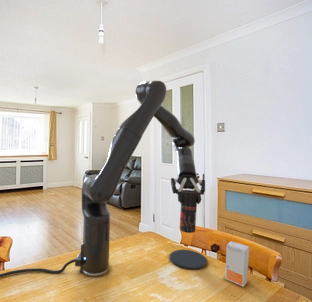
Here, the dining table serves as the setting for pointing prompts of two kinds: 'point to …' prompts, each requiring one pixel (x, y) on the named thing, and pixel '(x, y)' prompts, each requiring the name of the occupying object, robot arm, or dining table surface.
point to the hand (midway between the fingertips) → (189, 202)
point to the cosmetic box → (237, 263)
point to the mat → (188, 259)
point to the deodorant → (188, 211)
